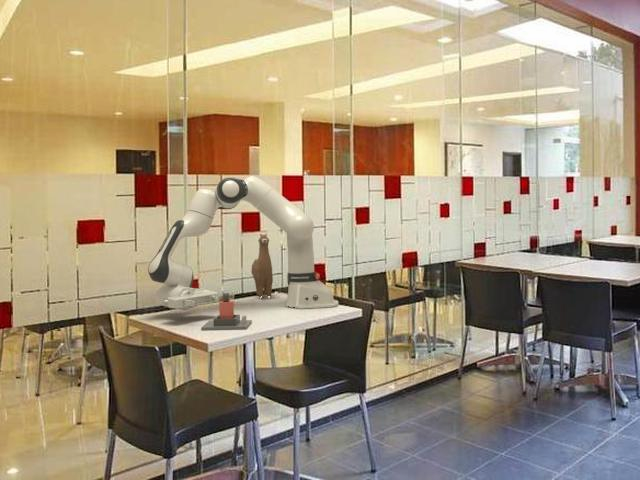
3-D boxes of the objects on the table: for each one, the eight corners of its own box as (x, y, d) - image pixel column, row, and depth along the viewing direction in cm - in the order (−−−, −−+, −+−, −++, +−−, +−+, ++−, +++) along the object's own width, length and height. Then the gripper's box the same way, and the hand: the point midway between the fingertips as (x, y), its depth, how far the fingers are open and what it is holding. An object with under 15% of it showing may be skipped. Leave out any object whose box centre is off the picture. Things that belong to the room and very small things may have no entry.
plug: (227, 322, 224) (226, 292, 223) (234, 323, 222) (233, 293, 221) (220, 324, 221) (218, 293, 221) (226, 325, 219) (225, 294, 218)
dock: (251, 322, 227) (251, 313, 227) (246, 329, 215) (246, 319, 215) (209, 323, 228) (208, 314, 228) (201, 330, 216) (200, 320, 216)
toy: (257, 301, 277) (255, 234, 275) (251, 295, 297) (249, 233, 295) (276, 299, 279) (274, 234, 277) (270, 293, 299) (267, 232, 297)
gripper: (160, 293, 231) (181, 296, 221) (204, 287, 246) (226, 289, 236) (161, 310, 231) (182, 314, 222) (205, 302, 246) (227, 306, 237)
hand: (205, 301), depth 229 cm, fingers open, 8 cm apart
